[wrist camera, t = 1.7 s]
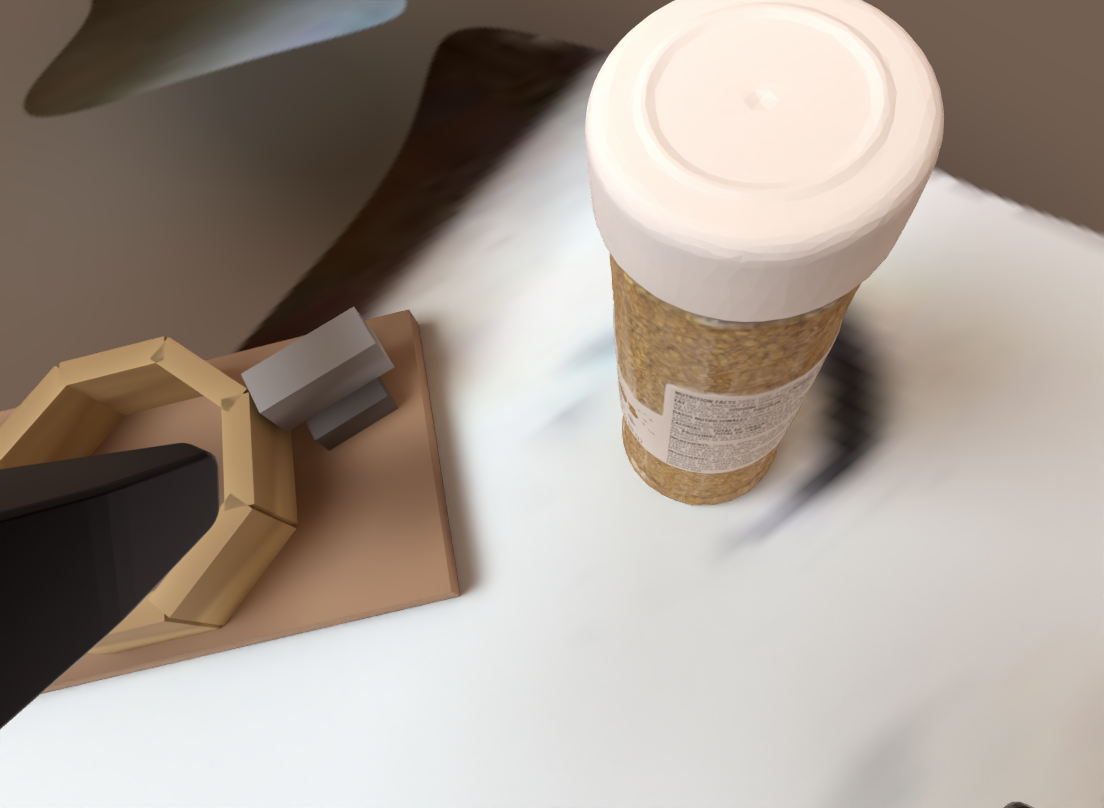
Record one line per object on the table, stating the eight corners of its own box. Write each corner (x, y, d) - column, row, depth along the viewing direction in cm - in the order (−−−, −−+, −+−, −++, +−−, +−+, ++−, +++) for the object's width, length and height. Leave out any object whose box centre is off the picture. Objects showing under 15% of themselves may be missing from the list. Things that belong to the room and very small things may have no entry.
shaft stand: (460, 596, 21) (423, 578, 17) (-78, 720, 21) (-212, 726, 18) (418, 323, 24) (380, 265, 21) (-46, 439, 25) (-153, 400, 22)
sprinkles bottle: (622, 366, 23) (585, -23, 10) (773, 363, 22) (927, -54, 10) (621, 510, 21) (576, 255, 9) (784, 512, 20) (986, 240, 8)
